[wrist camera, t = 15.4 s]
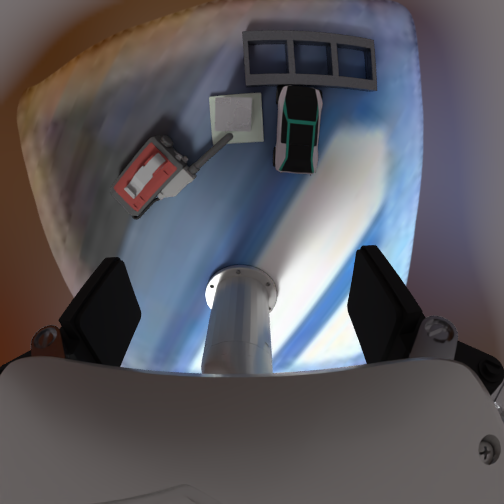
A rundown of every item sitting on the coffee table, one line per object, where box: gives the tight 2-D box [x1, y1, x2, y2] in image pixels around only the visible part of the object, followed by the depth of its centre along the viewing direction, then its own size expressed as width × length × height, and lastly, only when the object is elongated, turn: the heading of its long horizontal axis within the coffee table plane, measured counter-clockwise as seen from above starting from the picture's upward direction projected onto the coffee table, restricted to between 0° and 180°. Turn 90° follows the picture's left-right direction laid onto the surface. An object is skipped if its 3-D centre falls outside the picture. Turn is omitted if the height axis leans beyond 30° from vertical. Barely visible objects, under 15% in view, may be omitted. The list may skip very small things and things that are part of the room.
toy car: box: [273, 85, 322, 175], centre depth 33 cm, size 6×12×5 cm, turn 178°
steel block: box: [215, 97, 252, 132], centre depth 30 cm, size 4×4×7 cm
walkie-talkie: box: [110, 133, 233, 220], centre depth 35 cm, size 9×4×20 cm
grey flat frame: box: [242, 30, 377, 92], centre depth 29 cm, size 18×8×2 cm, turn 93°
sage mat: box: [209, 93, 264, 145], centre depth 34 cm, size 7×7×1 cm
